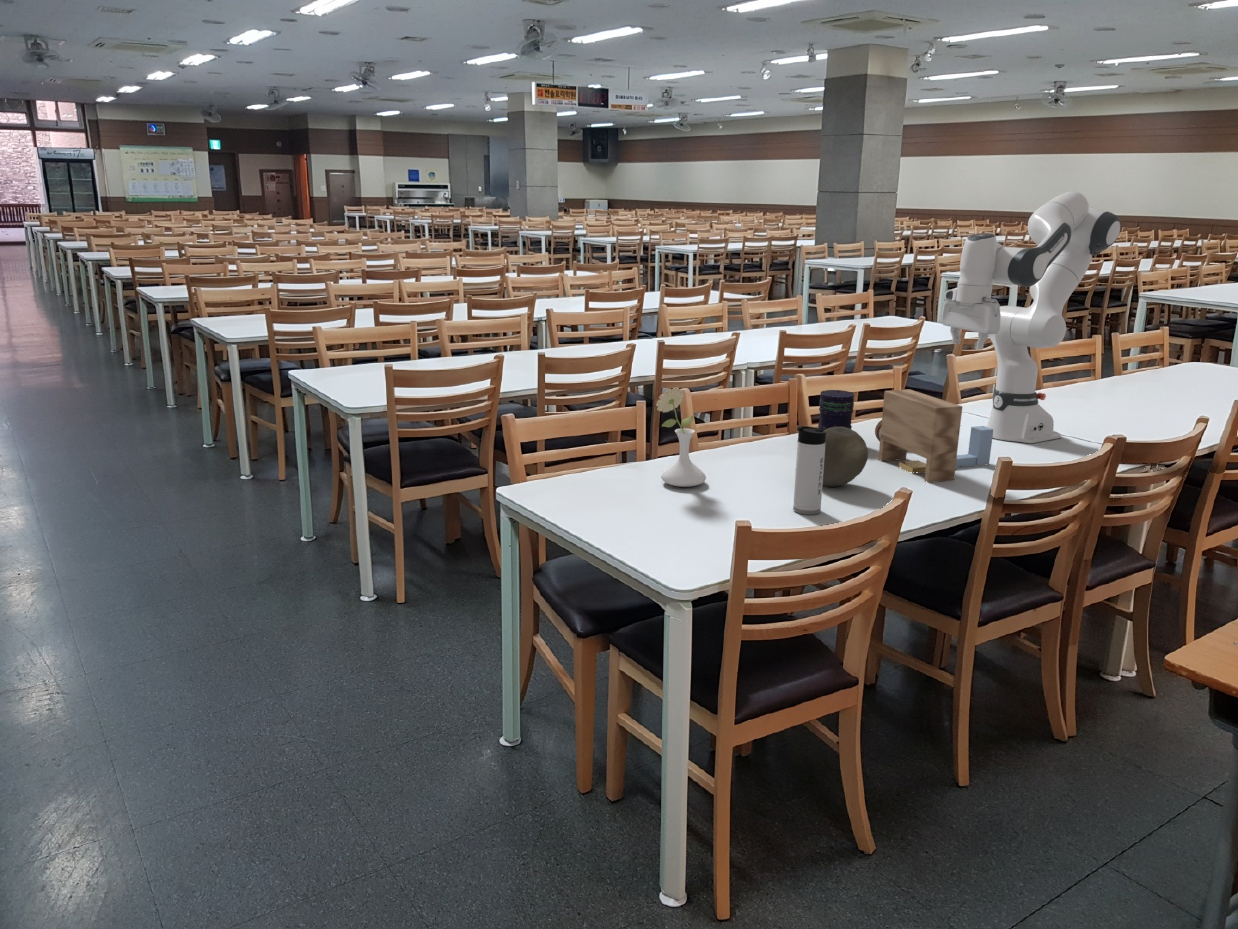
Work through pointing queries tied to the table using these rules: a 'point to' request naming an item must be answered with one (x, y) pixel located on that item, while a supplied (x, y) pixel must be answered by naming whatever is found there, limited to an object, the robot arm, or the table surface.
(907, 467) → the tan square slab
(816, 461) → the travel mug
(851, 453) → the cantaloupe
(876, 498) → the table surface
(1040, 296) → the robot arm
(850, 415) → the storage jar
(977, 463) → the blue l-shaped bracket
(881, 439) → the wooden bridge block
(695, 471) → the flower in vase
